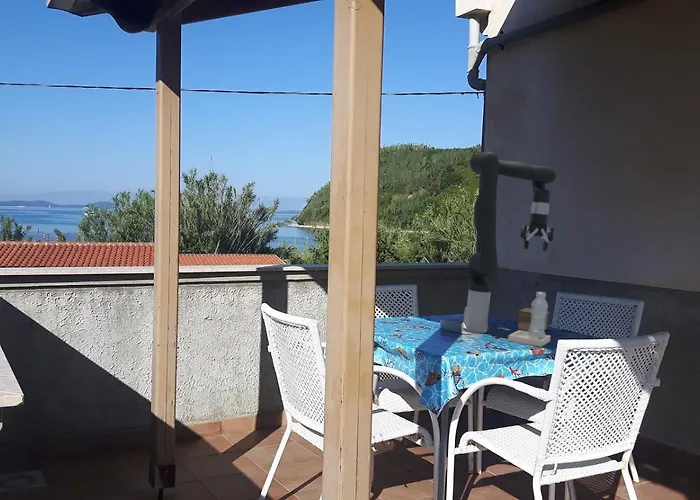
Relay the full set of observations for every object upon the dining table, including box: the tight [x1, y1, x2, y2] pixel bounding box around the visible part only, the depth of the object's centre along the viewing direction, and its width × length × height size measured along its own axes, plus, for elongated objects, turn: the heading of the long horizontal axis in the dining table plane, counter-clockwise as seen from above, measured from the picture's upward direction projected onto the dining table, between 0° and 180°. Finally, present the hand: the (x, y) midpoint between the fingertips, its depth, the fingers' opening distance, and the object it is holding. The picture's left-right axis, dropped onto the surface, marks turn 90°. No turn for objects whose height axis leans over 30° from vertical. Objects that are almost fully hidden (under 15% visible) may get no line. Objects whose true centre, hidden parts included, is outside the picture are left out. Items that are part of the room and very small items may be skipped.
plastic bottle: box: [527, 291, 549, 340], centre depth 273 cm, size 6×7×20 cm
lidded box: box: [517, 307, 550, 332], centre depth 304 cm, size 13×11×9 cm
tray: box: [507, 329, 551, 348], centre depth 274 cm, size 16×13×2 cm
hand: (535, 250), depth 295 cm, fingers open, 8 cm apart
